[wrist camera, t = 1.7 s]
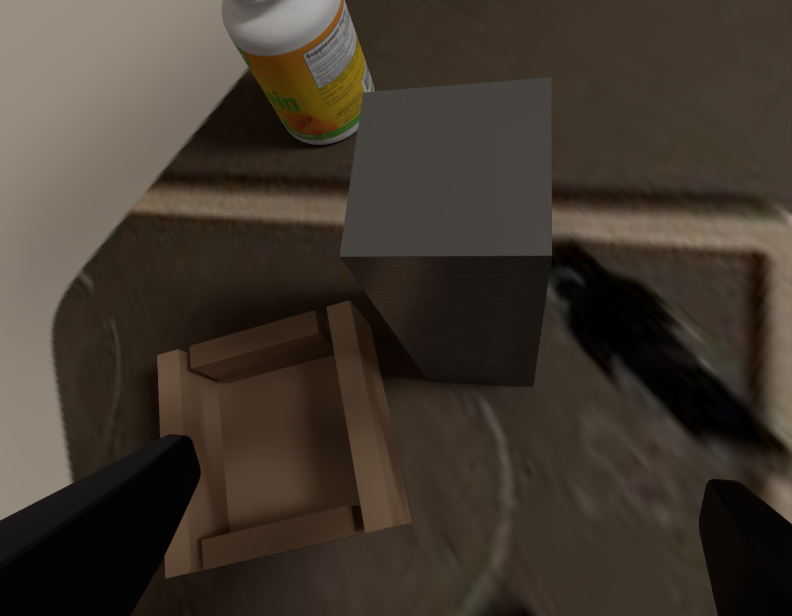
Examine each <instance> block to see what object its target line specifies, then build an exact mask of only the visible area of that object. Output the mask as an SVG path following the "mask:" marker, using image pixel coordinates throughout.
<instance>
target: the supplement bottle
mask: <svg viewBox="0 0 792 616" xmlns="http://www.w3.org/2000/svg"><path fill="white" fill-rule="evenodd" d="M222 17H223V22H224V25H225V28H226V30H227V32H228V34H229V35H230V37H231V39H232V41H233V42H234V44H235V45H236V47H237V49H238V50H239V52H240V54H241V55H242V57H243V59H244V60H245V62H246V63H247V65H248V67H249V68H250V70H251V72H252V73H253V75H254V76H255V78H256V80H257V81H258V83H259V85H260V86H261V88H262V90H263V91H264V93H265V95H266V96H267V98H268V100H269V101H270V103H271V105H272V106H273V108H274V110H275V111H276V113H277V115H278V116H279V118H280V120H281V121H282V123H283V124H284V126H285V127H286V129H287V130H288V131H289V133H290V134H291V135H292V136H294V137H295V138H296V139H298V140H300V141H302V142H305V143H308V144H314V145H325V144H332V143H335V142H338V141H341V140H343V139H346V138H347V137H349V136H351V135H352V134H353V133H355V132H356V131H357V130H358V125H359V118H360V111H361V104H362V97H363V92H374V86H373V83H372V79H371V76H370V73H369V70H368V67H367V64H366V61H365V58H364V55H363V52H362V50H361V47H360V44H359V41H358V38H357V35H356V32H355V29H354V26H353V23H352V20H351V18H350V15H349V12H348V9H347V6H346V3H345V0H223V2H222Z"/></svg>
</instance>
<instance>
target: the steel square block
mask: <svg viewBox="0 0 792 616" xmlns="http://www.w3.org/2000/svg"><path fill="white" fill-rule="evenodd" d="M340 258H341V259H342V261H343V262H344V263H345V265H346V266H347V268H348V269H349V270H350V272H351V273H352V275H353V276H354V277H355V279H356V280H357V282H358V283H359V285H360V286H361V287H362V289H363V290H364V292H365V293H366V294H367V296H368V297H369V299H370V300H371V301H372V303H373V304H374V306H375V307H376V308H377V310H378V311H379V313H380V314H381V315H382V317H383V318H384V320H385V321H386V322H387V324H388V325H389V327H390V328H391V329H392V331H393V332H394V334H395V335H396V336H397V338H398V339H399V341H400V342H401V344H402V345H403V346H404V348H405V349H406V351H407V352H408V353H409V355H410V356H411V358H412V359H413V360H414V362H415V363H416V365H417V366H418V367H419V369H420V370H421V372H422V373H423V374H424V376H425V377H426V379H427V380H428V381H435V382H455V383H475V384H495V385H515V386H533V385H534V378H535V371H536V364H537V357H538V350H539V343H540V336H541V329H542V322H543V315H544V308H545V301H546V294H547V287H548V279H549V272H550V265H551V258H552V126H551V78H540V79H527V80H515V81H502V82H489V83H476V84H464V85H451V86H438V87H426V88H413V89H400V90H388V91H375V92H363V97H362V104H361V111H360V118H359V125H358V132H357V139H356V146H355V153H354V160H353V167H352V174H351V181H350V188H349V195H348V202H347V209H346V216H345V223H344V230H343V237H342V244H341V251H340Z"/></svg>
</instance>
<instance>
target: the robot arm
mask: <svg viewBox="0 0 792 616" xmlns="http://www.w3.org/2000/svg"><path fill="white" fill-rule="evenodd" d="M200 477H201V467H200V464H199V460H198V457H197V454H196V450H195V447H194V444H193V441H192V439H191V438H190V437H189V436H187V435H177V434H169V435H166V436H164V437H162V438H160V439H158V440H156V441H154V442H152V443H150V444H148V445H146V446H144V447H142V448H140V449H138V450H137V451H135V452H133V453H131V454H129V455H127V456H125V457H123V458H121V459H119V460H117V461H115V462H113V463H111V464H109V465H107V466H105V467H103V468H102V469H100V470H98V471H96V472H94V473H92V474H90V475H88V476H86V477H84V478H82V479H80V480H78V481H76V482H74V483H72V484H70V485H69V486H67V487H65V488H63V489H61V490H59V491H57V492H55V493H53V494H51V495H50V496H47V497H45V498H43V499H41V500H39V501H37V502H35V503H33V504H32V505H30V506H28V507H26V508H24V509H22V510H20V511H18V512H16V513H14V514H12V515H10V516H8V517H6V518H4V519H2V520H0V616H130V615H131V614H132V612H133V610H134V608H135V607H136V605H137V603H138V602H139V600H140V598H141V596H142V595H143V593H144V591H145V589H146V588H147V586H148V584H149V582H150V581H151V579H152V577H153V576H154V574H155V572H156V570H157V569H158V567H159V565H160V563H161V561H162V560H163V558H164V556H165V554H166V552H167V550H168V548H169V546H170V544H171V542H172V540H173V538H174V535H175V533H176V531H177V529H178V527H179V524H180V522H181V520H182V518H183V516H184V514H185V511H186V509H187V507H188V505H189V503H190V501H191V498H192V496H193V494H194V492H195V490H196V488H197V485H198V483H199V480H200ZM699 532H700V537H701V541H702V546H703V550H704V555H705V560H706V564H707V569H708V573H709V578H710V582H711V587H712V591H713V596H714V600H715V605H716V609H717V614H718V616H792V524H791V523H790V522H789V521H787V520H786V519H785V518H784V517H783V516H781V515H780V514H779V513H778V512H776V511H775V510H774V509H773V508H772V507H770V506H769V505H768V504H767V503H766V502H764V501H763V500H762V499H761V498H759V497H758V496H757V495H756V494H755V493H753V492H752V491H751V490H750V489H749V488H747V487H746V486H745V485H744V484H742V483H740V482H738V481H734V480H722V479H711V480H709V481H708V483H707V485H706V488H705V493H704V497H703V502H702V507H701V511H700V516H699Z"/></svg>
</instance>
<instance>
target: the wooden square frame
mask: <svg viewBox="0 0 792 616" xmlns="http://www.w3.org/2000/svg"><path fill="white" fill-rule="evenodd" d="M326 308H327V313H328V319H329V323H328V322H327V321H326V320H325V319H324V318H323V317H321V316H320V315H319V314H318V313H317V312H316V311H315V310H314V311H310V312H307V313H303V314H300V315H296V316H293V317H289V318H286V319H282V320H279V321H275V322H272V323H268V324H265V325H261V326H258V327H254V328H251V329H247V330H244V331H240V332H237V333H233V334H230V335H226V336H223V337H219V338H216V339H212V340H209V341H205V342H202V343H198V344H195V345H191V346H190V354H188V353H186V352H184V351H182V350H180V349H177V350H174V351H170V352H167V353H163V354H160V355H157V361H158V388H159V415H160V438H162V437H164V436H166V435H169V434H177V435H187V436H189V437H190V438H191V439H192V441H193V444H194V447H195V450H196V454H197V457H198V460H199V464H200V467H201V477H200V480H199V483H198V485H197V488H196V490H195V492H194V494H193V496H192V498H191V501H190V503H189V505H188V507H187V509H186V511H185V514H184V516H183V518H182V520H181V522H180V524H179V527H178V529H177V531H176V533H175V535H174V538H173V540H172V542H171V544H170V546H169V548H168V550H167V552H166V554H165V579H166V578H170V577H175V576H180V575H184V574H189V573H193V572H198V571H203V570H207V569H212V568H216V567H221V566H225V565H229V564H234V563H238V562H242V561H247V560H251V559H256V558H260V557H264V556H269V555H273V554H277V553H282V552H286V551H291V550H295V549H299V548H304V547H308V546H312V545H317V544H321V543H326V542H330V541H334V540H339V539H343V538H348V537H352V536H356V535H361V534H365V533H369V532H374V531H378V530H383V529H387V528H391V527H396V526H400V525H404V524H409V523H411V519H410V515H409V510H408V505H407V500H406V495H405V490H404V485H403V480H402V475H401V470H400V466H399V461H398V456H397V451H396V446H395V441H394V436H393V431H392V426H391V421H390V417H389V412H388V407H387V402H386V397H385V392H384V387H383V382H382V377H381V372H380V368H379V363H378V358H377V353H376V348H375V343H374V338H373V333H372V328H371V325H370V324H369V323H368V322H367V320H366V319H365V318H364V317H363V316H362V314H361V313H360V312H359V311H358V310H357V308H356V307H355V306H354V305H353V304H352V302H351V301H350V300H349V301H345V302H342V303H338V304H335V305H331V306H328V307H326Z"/></svg>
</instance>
